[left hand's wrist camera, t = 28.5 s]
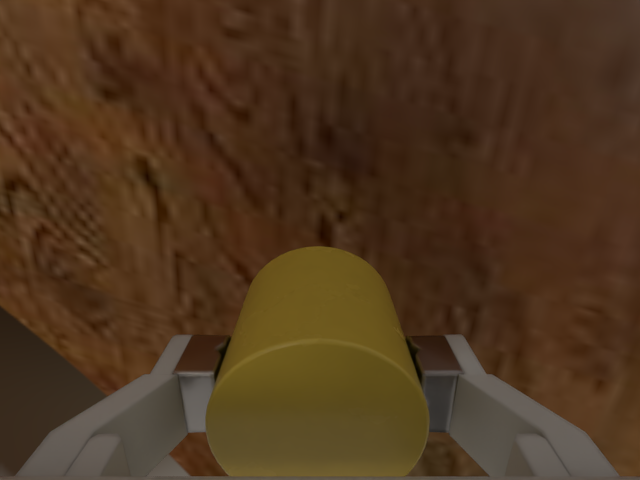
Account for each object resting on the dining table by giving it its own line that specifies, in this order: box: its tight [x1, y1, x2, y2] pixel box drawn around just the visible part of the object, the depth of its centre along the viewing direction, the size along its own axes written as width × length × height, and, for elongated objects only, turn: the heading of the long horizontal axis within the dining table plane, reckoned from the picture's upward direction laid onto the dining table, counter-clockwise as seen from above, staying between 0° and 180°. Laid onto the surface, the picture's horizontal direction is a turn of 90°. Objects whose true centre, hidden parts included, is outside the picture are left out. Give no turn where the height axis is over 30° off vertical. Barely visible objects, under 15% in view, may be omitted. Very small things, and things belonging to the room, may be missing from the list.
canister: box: [205, 246, 430, 477], centre depth 10 cm, size 5×5×5 cm
